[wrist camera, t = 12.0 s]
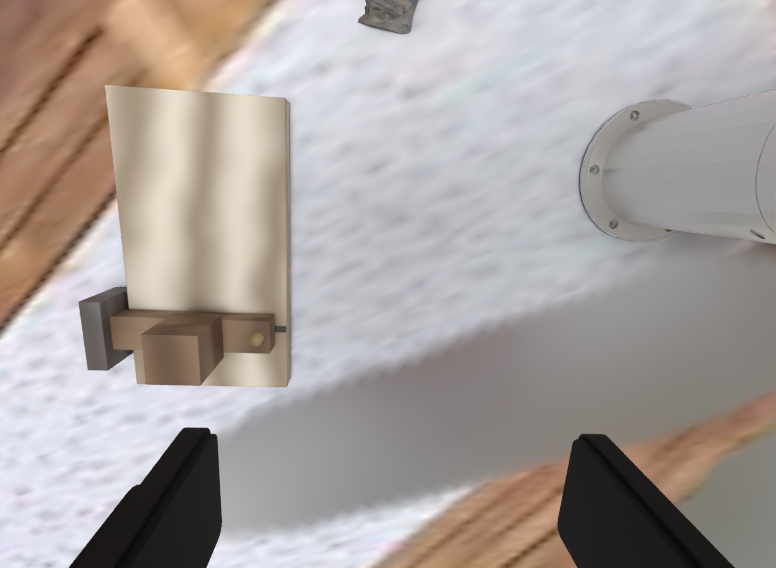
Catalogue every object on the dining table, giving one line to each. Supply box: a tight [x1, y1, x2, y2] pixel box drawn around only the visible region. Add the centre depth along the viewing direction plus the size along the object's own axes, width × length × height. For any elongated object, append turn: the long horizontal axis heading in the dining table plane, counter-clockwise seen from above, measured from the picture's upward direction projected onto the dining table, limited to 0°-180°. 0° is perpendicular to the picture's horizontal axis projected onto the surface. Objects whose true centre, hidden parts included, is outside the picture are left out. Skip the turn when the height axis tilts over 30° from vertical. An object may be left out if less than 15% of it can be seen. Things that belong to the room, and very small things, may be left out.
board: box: [105, 85, 291, 387], centre depth 35 cm, size 14×26×2 cm, turn 177°
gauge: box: [79, 287, 275, 386], centre depth 33 cm, size 15×6×9 cm, turn 87°
